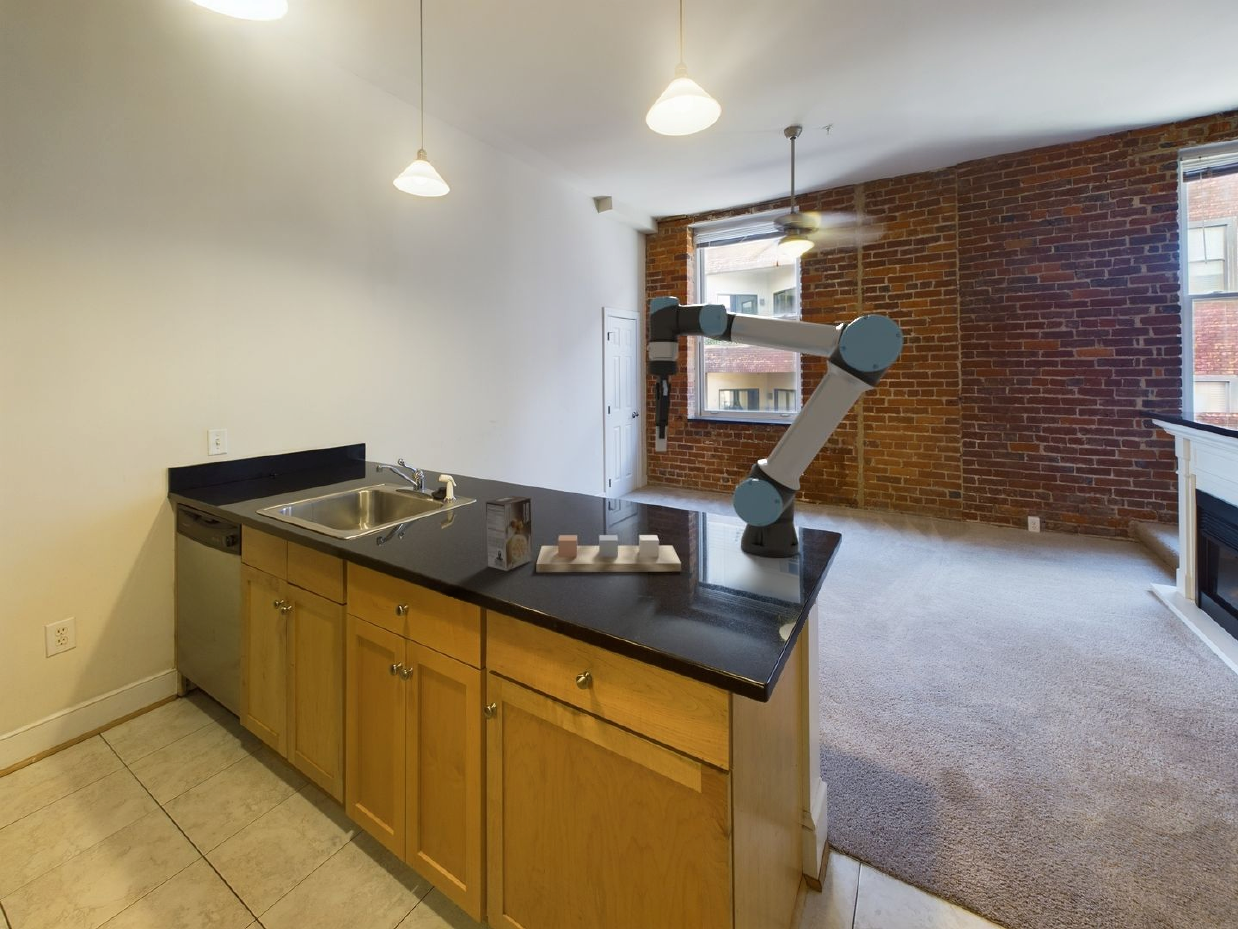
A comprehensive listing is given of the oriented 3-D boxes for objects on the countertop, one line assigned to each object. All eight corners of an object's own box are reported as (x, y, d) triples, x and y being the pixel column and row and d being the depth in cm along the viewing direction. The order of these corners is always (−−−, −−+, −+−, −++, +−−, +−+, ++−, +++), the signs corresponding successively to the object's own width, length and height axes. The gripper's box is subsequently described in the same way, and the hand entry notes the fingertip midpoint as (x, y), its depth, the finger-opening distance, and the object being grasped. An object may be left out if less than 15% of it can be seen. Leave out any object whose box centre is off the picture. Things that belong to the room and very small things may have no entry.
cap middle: (617, 551, 135) (617, 535, 134) (617, 557, 130) (618, 540, 129) (599, 551, 134) (599, 535, 134) (599, 557, 130) (599, 540, 129)
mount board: (672, 552, 140) (672, 534, 140) (680, 571, 126) (681, 551, 126) (542, 553, 138) (541, 534, 138) (536, 572, 125) (536, 551, 124)
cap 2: (656, 551, 135) (656, 535, 134) (658, 556, 131) (659, 540, 130) (638, 551, 135) (639, 535, 134) (640, 557, 130) (640, 540, 130)
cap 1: (577, 551, 134) (577, 535, 133) (576, 557, 130) (576, 540, 129) (559, 551, 134) (559, 535, 133) (558, 557, 129) (558, 540, 129)
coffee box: (513, 556, 136) (512, 494, 133) (532, 561, 132) (531, 497, 130) (486, 566, 128) (485, 501, 126) (506, 571, 125) (505, 504, 122)
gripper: (646, 360, 144) (644, 447, 147) (651, 358, 131) (649, 454, 134) (673, 361, 144) (671, 448, 148) (681, 359, 131) (678, 454, 135)
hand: (660, 450), depth 141 cm, fingers closed
